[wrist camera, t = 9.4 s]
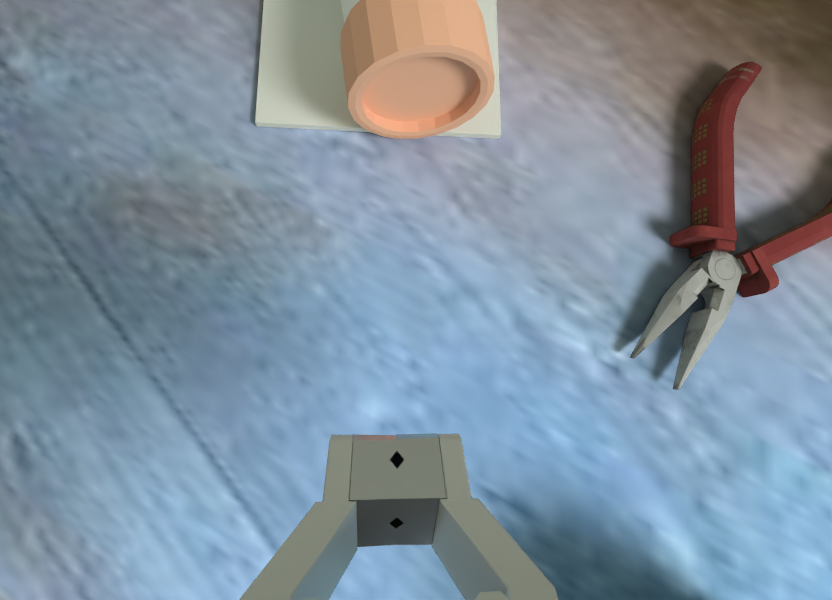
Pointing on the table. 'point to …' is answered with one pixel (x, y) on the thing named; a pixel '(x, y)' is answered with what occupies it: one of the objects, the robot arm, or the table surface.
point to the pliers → (721, 232)
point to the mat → (332, 70)
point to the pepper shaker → (415, 65)
